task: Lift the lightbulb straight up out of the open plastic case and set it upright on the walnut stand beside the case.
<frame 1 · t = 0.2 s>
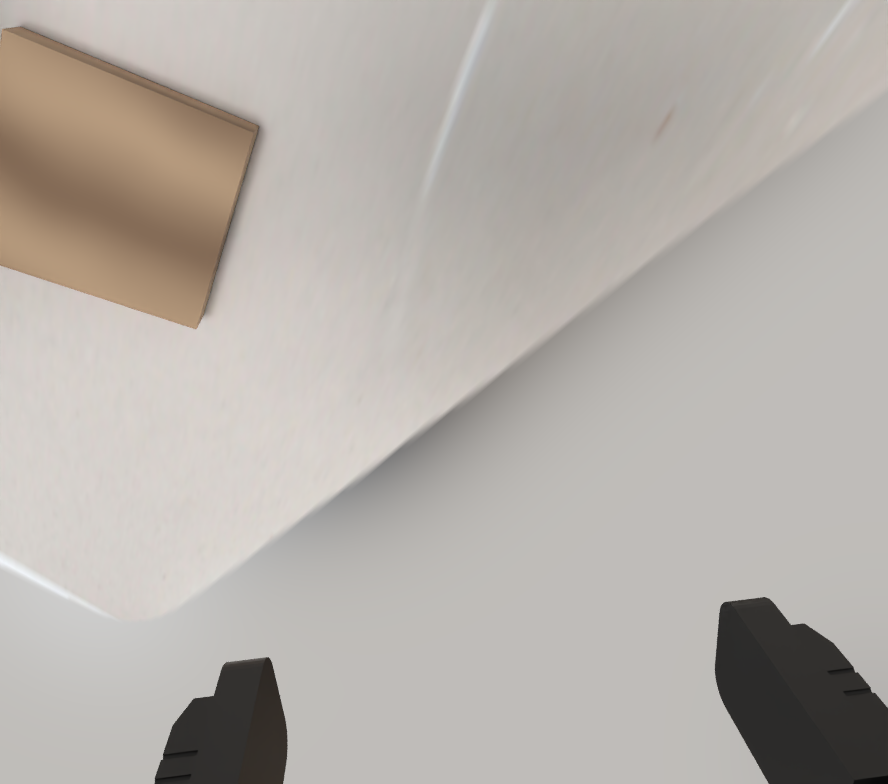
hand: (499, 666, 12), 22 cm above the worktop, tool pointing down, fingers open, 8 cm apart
stand: (121, 186, 29), on the worktop
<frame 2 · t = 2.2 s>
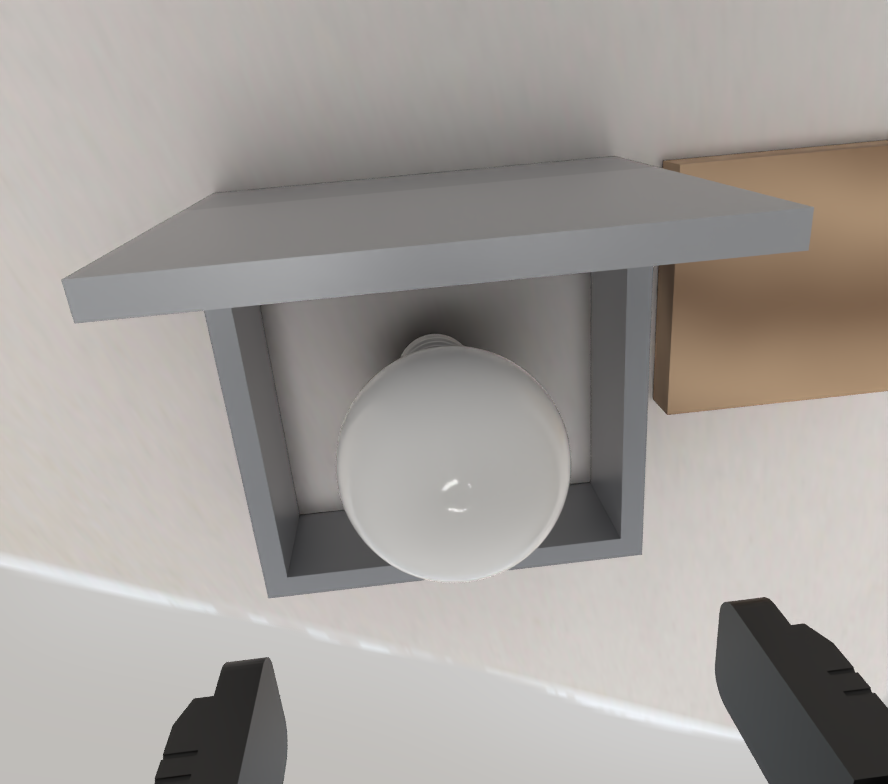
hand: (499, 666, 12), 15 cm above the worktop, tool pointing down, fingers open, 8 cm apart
lightbulb: (433, 360, 26), resting in case
case: (433, 362, 26), on the worktop
stand: (776, 276, 26), on the worktop
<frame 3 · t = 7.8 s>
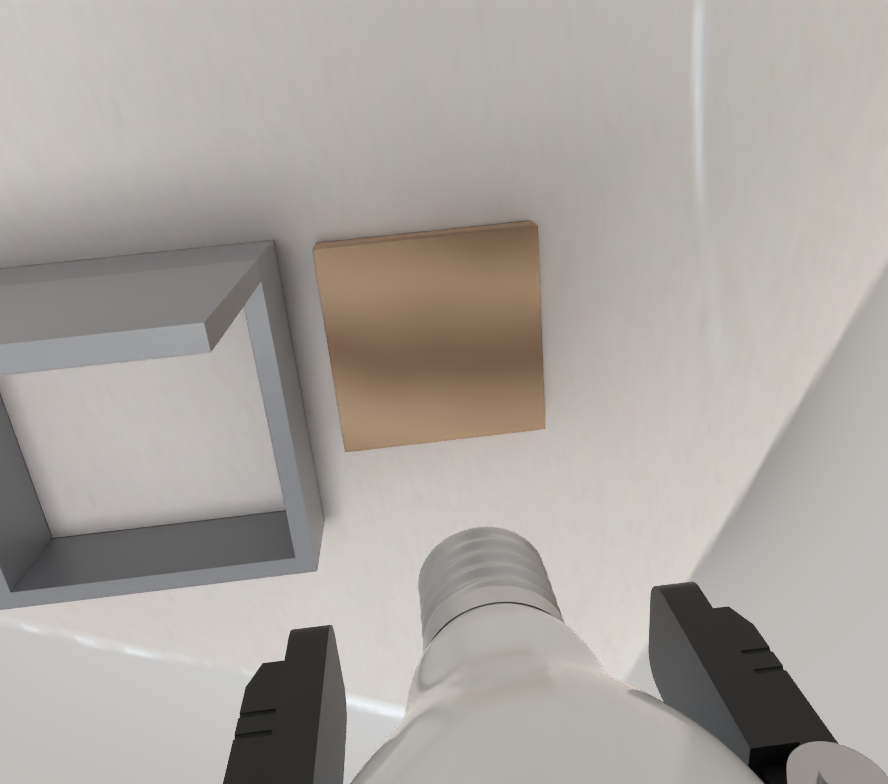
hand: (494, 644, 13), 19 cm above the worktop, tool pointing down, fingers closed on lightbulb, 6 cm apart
lightbulb: (477, 556, 15), point 17 cm above the worktop, touching gripper
case: (148, 409, 31), on the worktop
stand: (434, 334, 31), on the worktop
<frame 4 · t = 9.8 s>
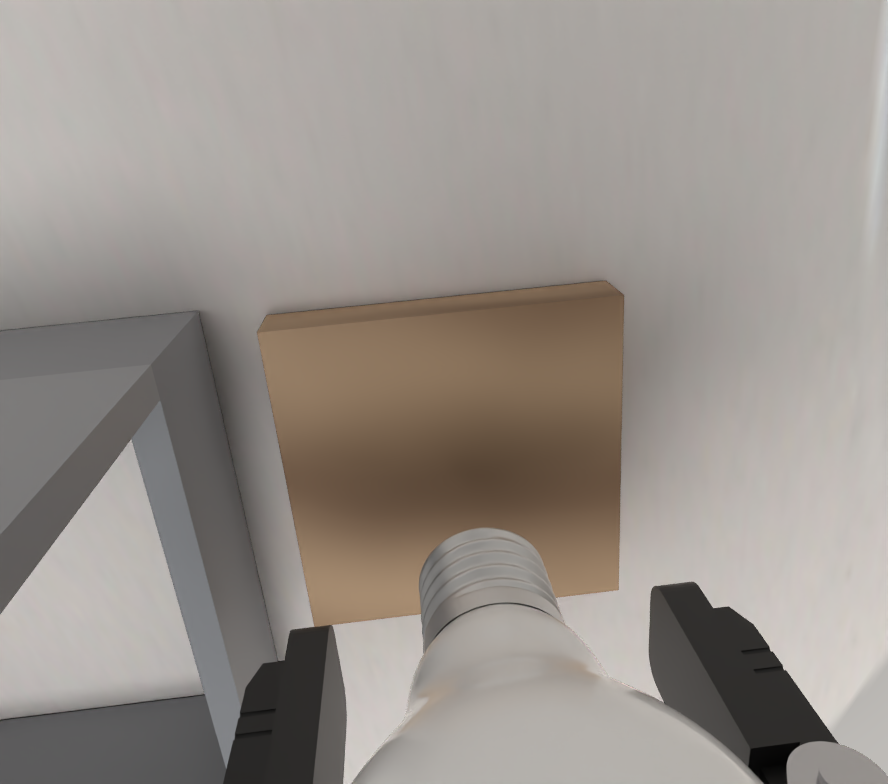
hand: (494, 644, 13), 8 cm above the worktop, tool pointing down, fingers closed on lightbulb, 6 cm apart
lightbulb: (477, 557, 15), point 5 cm above the worktop, touching gripper
case: (14, 559, 20), on the worktop
stand: (451, 449, 20), on the worktop
when the fingers open (5 cm above the worktop, at t = 11.3 s): lightbulb drops 1 cm, resting on stand.
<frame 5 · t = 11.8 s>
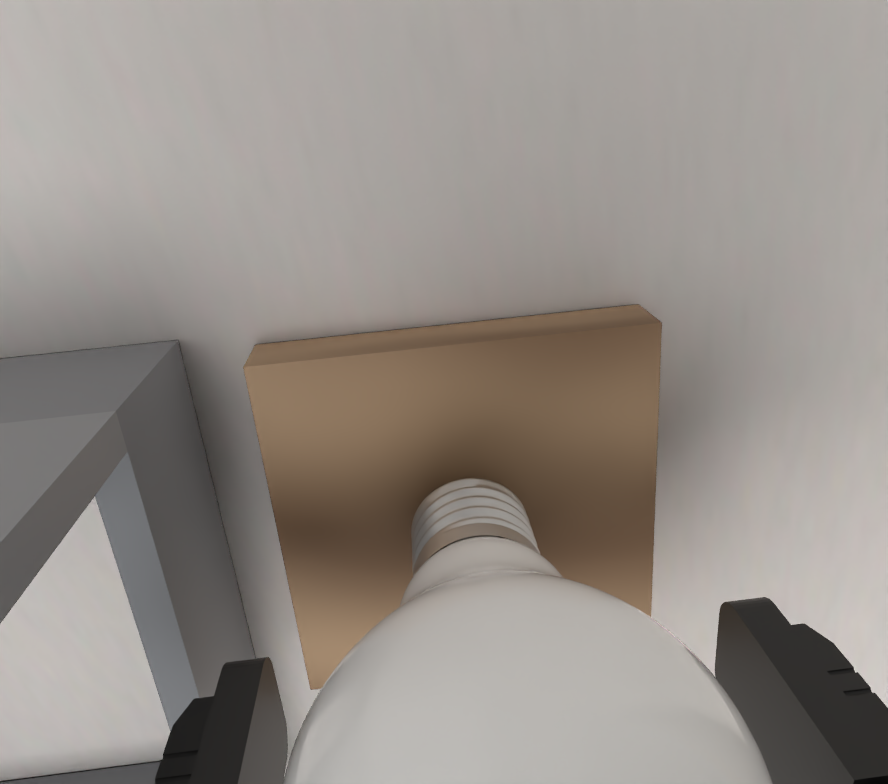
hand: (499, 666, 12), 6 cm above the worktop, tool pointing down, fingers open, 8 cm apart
lightbulb: (466, 510, 17), point 1 cm above the worktop, touching stand
stand: (463, 491, 18), on the worktop
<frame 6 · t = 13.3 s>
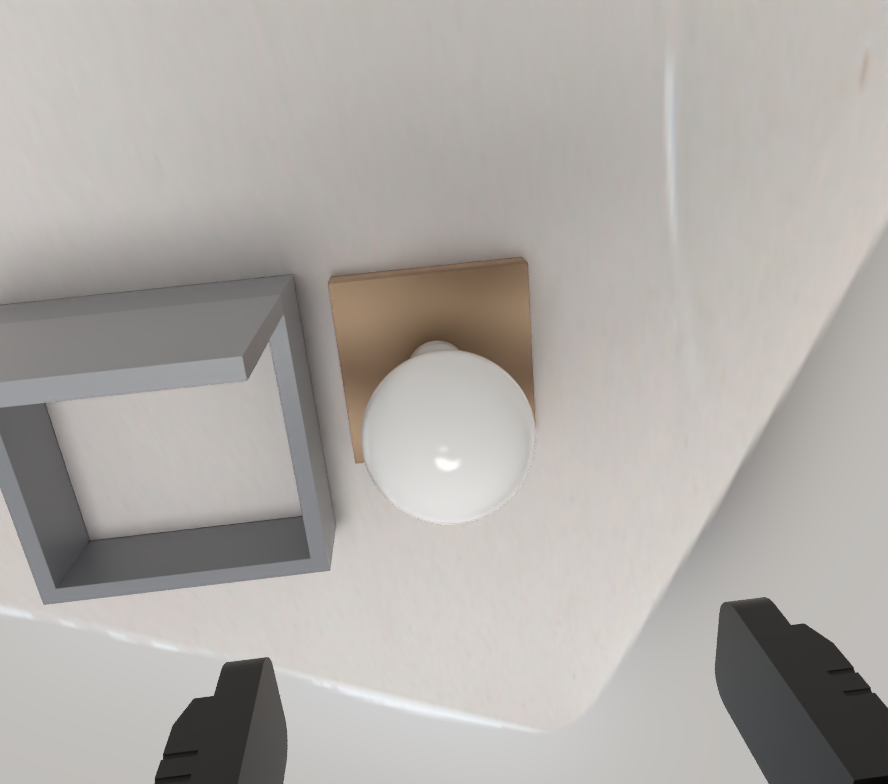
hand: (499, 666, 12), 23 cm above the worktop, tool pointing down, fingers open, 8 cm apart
lightbulb: (436, 361, 33), point 1 cm above the worktop, touching stand
case: (178, 424, 35), on the worktop
stand: (435, 357, 34), on the worktop
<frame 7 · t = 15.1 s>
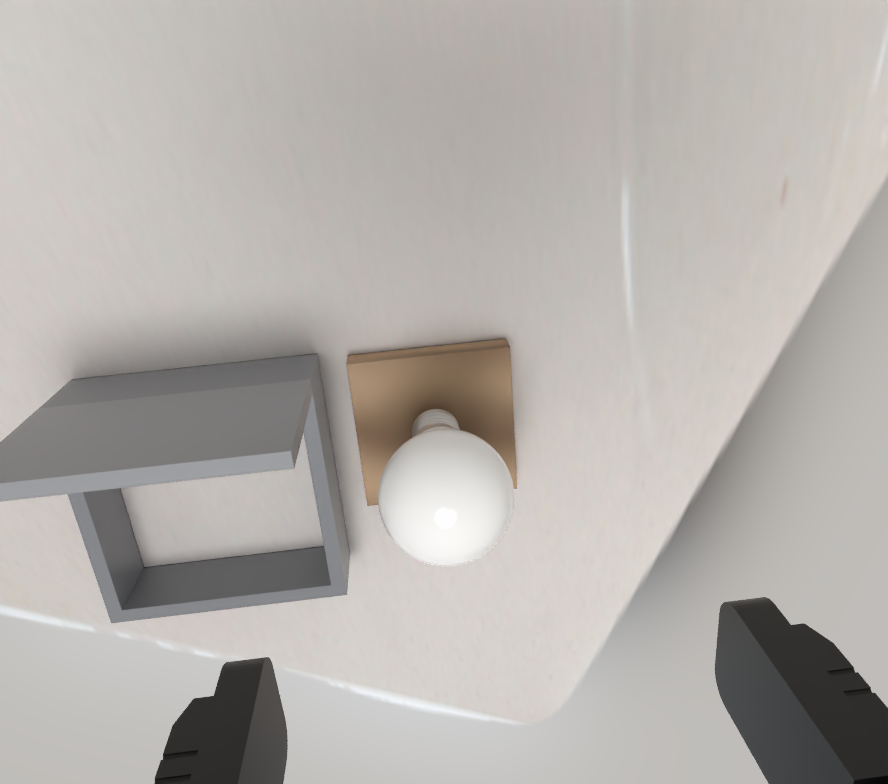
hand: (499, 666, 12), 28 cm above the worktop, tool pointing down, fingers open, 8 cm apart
lightbulb: (434, 424, 40), point 1 cm above the worktop, touching stand
case: (220, 473, 42), on the worktop
stand: (434, 418, 41), on the worktop
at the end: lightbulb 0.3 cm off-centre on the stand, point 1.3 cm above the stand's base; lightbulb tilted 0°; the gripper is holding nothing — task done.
